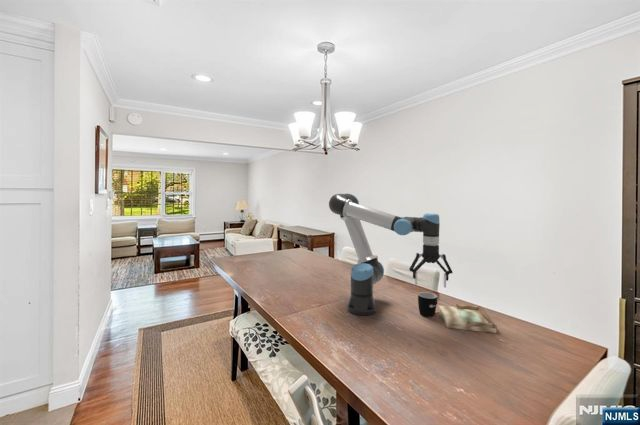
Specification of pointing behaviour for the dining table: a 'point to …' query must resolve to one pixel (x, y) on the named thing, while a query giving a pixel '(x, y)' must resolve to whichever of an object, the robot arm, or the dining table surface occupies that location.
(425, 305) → the mug
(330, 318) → the dining table surface
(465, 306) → the board
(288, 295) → the dining table surface
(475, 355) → the dining table surface
